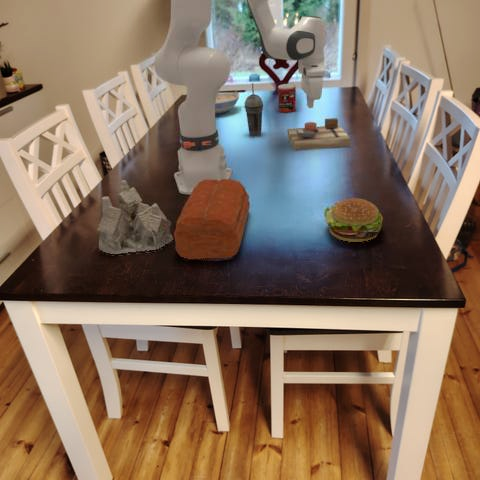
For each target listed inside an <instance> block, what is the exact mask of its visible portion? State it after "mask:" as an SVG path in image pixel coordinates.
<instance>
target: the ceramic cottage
mask: <svg viewBox="0 0 480 480" xmlns="http://www.w3.org/2000/svg"><path fill="white" fill-rule="evenodd" d="M120 183H121V185H120V186H119V189H120V193H118V197H117V201H116V205H117V207H114V206H113V204H112V202H111V199H110V197H109V196H103V197H101V210H102V211H101V212H102V216H101V219H100V221H99V224H98V228H97V229H96V231H98V232H100V233H99V236H98V237H99V240H98V250H99V249H100V250H102V251H103V252H106V253H110V254H121V253H128V252H136V251H138V252H139V251H145V250H147V251H149V250H156V249H159V248H161V247H163V246H165V244H168V243H169V242H171V241H172V240H174V237H173V235H172V234H171V226H172V222H171V221H170V220H168V217H166V216H165V214H164V212H163V211H162V210H161V208H160V207H159V205H158V204H157V203H156V202H155V203H153V204H152V205H151V206H150V205H149V204H146V203H143V199H142V198H141V196H140V194H139V193H138V191H137V190H136V188H135V187H131V188H130V186H129V184H128V182H127V180H125V179H124V180H121V182H120ZM172 242H173V241H172ZM172 242H171V243H172ZM169 244H170V243H169ZM169 244H168V245H169ZM165 247H166V246H165ZM161 249H162V248H161ZM100 250H99V251H100Z"/></svg>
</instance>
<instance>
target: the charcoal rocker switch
mask: <svg viewBox="0 0 480 480" xmlns="http://www.w3.org/2000/svg"><path fill="white" fill-rule="evenodd" d="M296 133H297V135H298V136H301V137H315V133H314V131H311V130H297V132H296Z"/></svg>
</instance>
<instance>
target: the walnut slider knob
mask: <svg viewBox="0 0 480 480" xmlns="http://www.w3.org/2000/svg"><path fill="white" fill-rule="evenodd" d="M338 125H339V119H338V118H337V117H334V118H324V126H325V128H338Z"/></svg>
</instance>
